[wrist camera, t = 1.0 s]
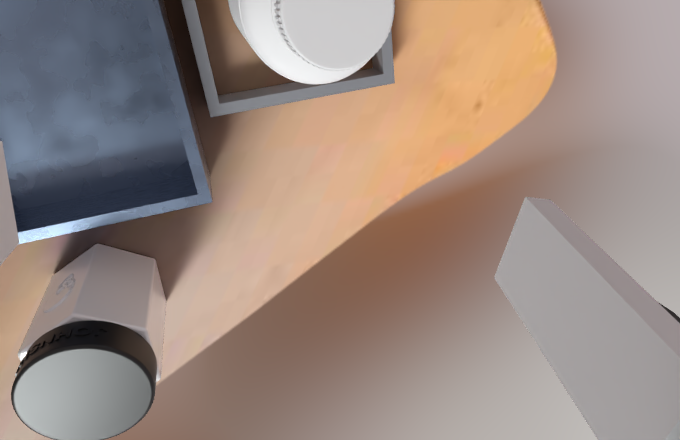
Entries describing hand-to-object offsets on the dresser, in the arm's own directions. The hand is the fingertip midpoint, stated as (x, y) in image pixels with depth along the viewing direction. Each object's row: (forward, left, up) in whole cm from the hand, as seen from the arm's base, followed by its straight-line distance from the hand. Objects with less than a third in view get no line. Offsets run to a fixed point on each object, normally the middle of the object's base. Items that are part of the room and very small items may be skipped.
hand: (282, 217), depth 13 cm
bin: (-11, -1, -26) cm, 28 cm away
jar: (-13, -17, -26) cm, 34 cm away
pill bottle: (+5, +3, -26) cm, 27 cm away
